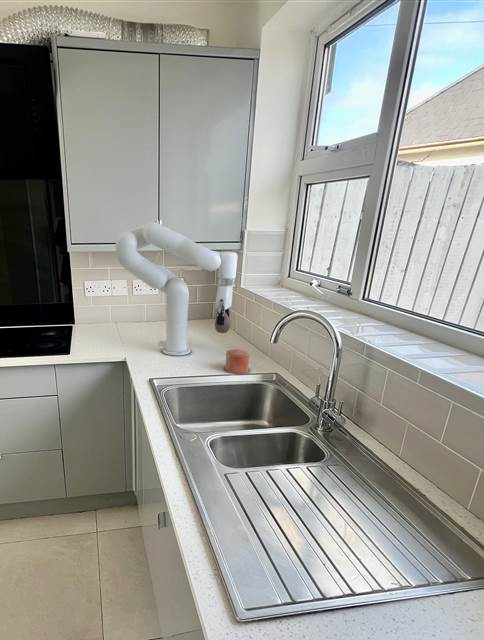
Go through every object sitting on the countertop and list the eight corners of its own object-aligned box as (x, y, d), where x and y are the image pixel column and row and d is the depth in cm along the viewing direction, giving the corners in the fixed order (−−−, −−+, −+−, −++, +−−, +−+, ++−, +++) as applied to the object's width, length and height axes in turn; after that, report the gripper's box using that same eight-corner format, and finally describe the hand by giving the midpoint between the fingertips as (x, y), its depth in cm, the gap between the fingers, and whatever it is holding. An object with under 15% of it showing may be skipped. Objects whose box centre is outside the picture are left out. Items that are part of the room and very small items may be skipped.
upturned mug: (245, 374, 157) (246, 357, 154) (222, 371, 160) (223, 354, 157) (251, 365, 167) (253, 348, 164) (230, 362, 170) (231, 345, 167)
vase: (229, 334, 177) (231, 314, 174) (213, 333, 178) (215, 313, 175) (230, 330, 183) (231, 311, 180) (214, 329, 185) (216, 310, 181)
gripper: (223, 279, 181) (220, 318, 188) (211, 283, 167) (208, 326, 173) (240, 280, 179) (236, 320, 185) (229, 285, 164) (225, 328, 171)
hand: (222, 322), depth 179 cm, fingers closed on vase, 6 cm apart
